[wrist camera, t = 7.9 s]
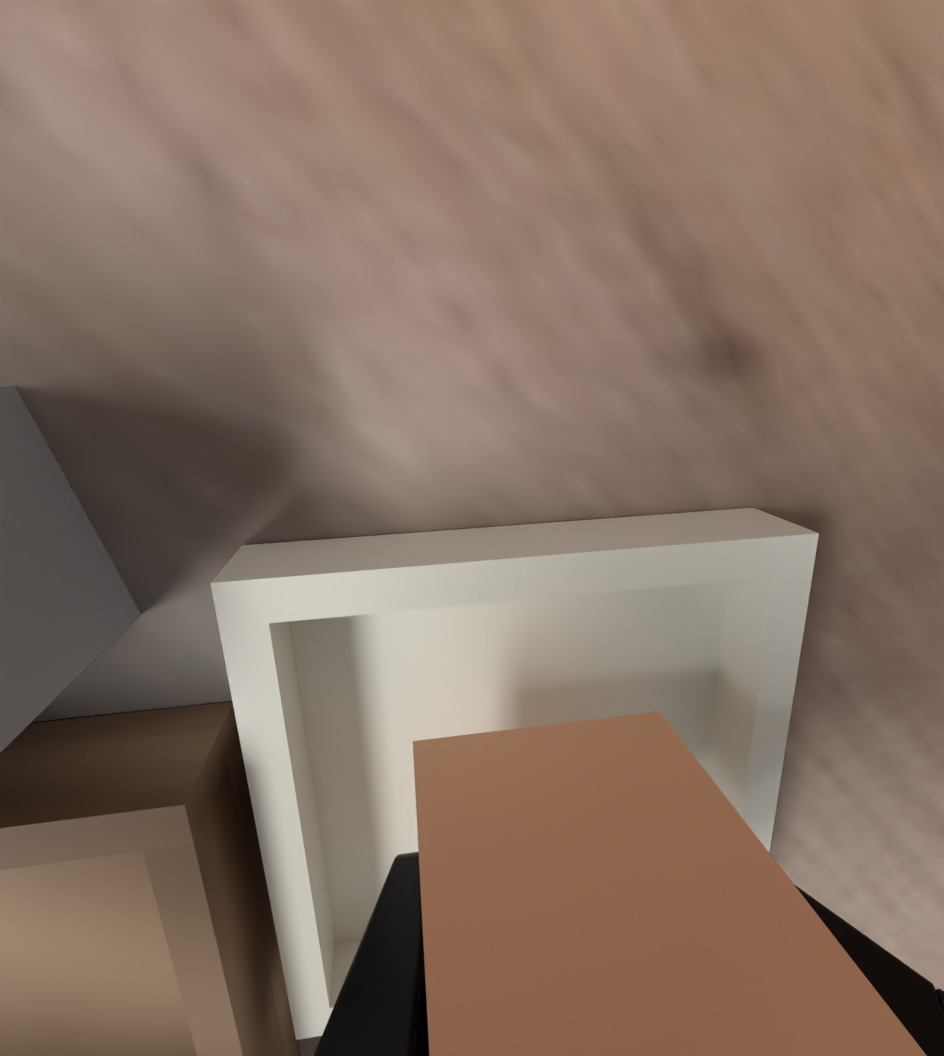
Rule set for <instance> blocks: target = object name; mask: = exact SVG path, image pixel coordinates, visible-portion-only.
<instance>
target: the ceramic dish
mask: <svg viewBox="0 0 944 1056" xmlns="http://www.w3.org/2000/svg"><path fill="white" fill-rule="evenodd" d="M818 537H819V533H817V532H814V531H812V530H809V529H807V528H804V527H802V526H799V525H796V524H794V523H791V522H789V521H786V520H784V519H781V518H779V517H776V516H773V515H771V514H768V513H766V512H763V511H761V510H758V509H756V508H740V509H727V510H713V511H700V512H686V513H673V514H659V515H646V516H632V517H619V518H605V519H592V520H578V521H565V522H551V523H538V524H524V525H511V526H497V527H484V528H470V529H457V530H443V531H430V532H416V533H403V534H390V535H376V536H363V537H349V538H336V539H322V540H309V541H295V542H282V543H268V544H255V545H242V546H241V547H240V548H239V550H238V551H237V552H236V553H235V554H234V556H233V557H232V558H231V559H230V560H229V561H228V563H227V564H226V565H225V566H224V567H223V569H222V570H221V571H220V572H219V573H218V574H217V576H216V577H215V578H214V579H213V580H212V582H211V583H210V585H211V590H212V595H213V601H214V606H215V611H216V617H217V622H218V627H219V633H220V638H221V643H222V648H223V654H224V659H225V664H226V670H227V675H228V680H229V686H230V691H231V696H232V702H233V707H234V712H235V718H236V723H237V728H238V734H239V739H240V744H241V750H242V755H243V760H244V766H245V771H246V776H247V782H248V787H249V792H250V798H251V803H252V808H253V813H254V819H255V824H256V829H257V835H258V840H259V845H260V851H261V856H262V861H263V867H264V872H265V877H266V883H267V888H268V893H269V899H270V904H271V909H272V915H273V920H274V925H275V931H276V936H277V941H278V947H279V952H280V957H281V963H282V968H283V973H284V978H285V984H286V989H287V994H288V1000H289V1005H290V1010H291V1016H292V1021H293V1026H294V1032H295V1037H296V1040H300V1039H306V1038H311V1037H317V1036H322V1034H323V1032H324V1029H325V1027H326V1024H327V1022H328V1020H329V1017H330V1015H331V1012H332V1010H333V1007H334V1005H335V1002H336V1000H337V998H338V995H339V993H340V990H341V988H342V985H343V983H344V980H345V978H346V976H347V973H348V971H349V968H350V966H351V963H352V961H353V959H354V956H355V954H356V951H357V949H358V946H359V944H360V941H361V939H362V937H363V934H364V932H365V929H366V927H367V924H368V922H369V919H370V917H371V915H372V912H373V910H374V907H375V905H376V902H377V900H378V897H379V895H380V893H381V890H382V888H383V885H384V883H385V880H386V878H387V875H388V873H389V871H390V868H391V866H392V863H393V861H394V859H395V857H396V856H397V855H399V854H404V853H411V852H419V851H418V832H417V814H416V795H415V777H414V758H413V741H418V740H426V739H434V738H443V737H451V736H459V735H467V734H476V733H484V732H492V731H500V730H508V729H517V728H525V727H533V726H541V725H550V724H558V723H566V722H574V721H583V720H591V719H599V718H607V717H615V716H624V715H632V714H640V713H648V712H657V711H660V713H661V714H662V715H663V717H664V718H665V719H666V720H667V722H668V723H669V724H670V726H671V727H672V728H673V729H674V731H675V732H676V733H677V735H678V736H679V737H680V738H681V740H682V741H683V742H684V744H685V745H686V746H687V748H688V749H689V750H690V751H691V753H692V754H693V755H694V757H695V758H696V759H697V760H698V762H699V763H700V764H701V766H702V767H703V768H704V769H705V771H706V772H707V773H708V775H709V776H710V777H711V778H712V780H713V781H714V782H715V784H716V785H717V786H718V787H719V789H720V790H721V791H722V793H723V794H724V795H725V796H726V798H727V799H728V800H729V802H730V803H731V804H732V805H733V807H734V808H735V809H736V811H737V812H738V813H739V814H740V816H741V817H742V818H743V820H744V821H745V822H746V823H747V825H748V826H749V827H750V829H751V830H752V831H753V833H754V834H755V835H756V836H757V838H758V839H759V840H760V842H761V843H762V844H763V845H764V847H765V848H766V849H767V851H768V852H770V845H771V839H772V832H773V826H774V820H775V813H776V807H777V800H778V794H779V787H780V781H781V775H782V768H783V762H784V755H785V749H786V742H787V736H788V730H789V723H790V717H791V710H792V704H793V697H794V691H795V685H796V678H797V672H798V665H799V659H800V652H801V646H802V640H803V633H804V627H805V620H806V614H807V607H808V601H809V595H810V588H811V582H812V575H813V569H814V562H815V556H816V550H817V543H818Z"/></svg>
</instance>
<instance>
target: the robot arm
mask: <svg viewBox="0 0 944 1056" xmlns="http://www.w3.org/2000/svg"><path fill="white" fill-rule="evenodd" d="M795 887H796V888H797V889H798V890H799V892H800V893H801V894H802V896H803V897H804V898H805V899H806V901H807V902H808V903H809V905H810V906H811V907H812V908H813V910H814V911H815V912H816V914H817V915H818V916H819V918H820V919H821V920H822V921H823V923H824V924H825V925H826V927H827V928H828V929H829V930H830V932H831V933H832V934H833V936H834V937H835V938H836V939H837V941H838V942H839V943H840V945H841V946H842V947H843V948H844V950H845V951H846V952H847V954H848V955H849V956H850V957H851V959H852V960H853V961H854V963H855V964H856V965H857V966H858V968H859V969H860V970H861V972H862V973H863V974H864V975H865V977H866V978H867V979H868V981H869V982H870V983H871V984H872V986H873V987H874V988H875V990H876V991H877V992H878V993H879V995H880V996H881V997H882V999H883V1000H884V1001H885V1003H886V1004H887V1005H888V1006H889V1008H890V1009H891V1010H892V1012H893V1013H894V1014H895V1015H896V1017H897V1018H898V1019H899V1021H900V1022H901V1023H902V1024H903V1026H904V1027H905V1028H906V1030H907V1031H908V1032H909V1033H910V1035H911V1036H912V1037H913V1039H914V1040H915V1041H916V1042H917V1044H918V1045H919V1046H920V1048H921V1049H922V1050H923V1051H924V1053H925V1054H926V1055H927V1056H944V991H942V990H941V989H936V990H935V987H934V985H933V984H932V983H931V982H930V981H928V980H927V979H925V978H924V977H923V976H921V975H920V974H918V973H917V972H916V971H914V970H913V969H911V968H910V967H909V966H907V965H906V964H904V963H903V962H902V961H900V960H899V959H897V958H896V957H895V956H893V955H892V954H890V953H889V952H888V951H886V950H885V949H883V948H882V947H881V946H879V945H878V944H877V943H875V942H874V941H872V940H871V939H870V938H868V937H867V936H865V935H864V934H863V933H861V932H860V931H858V930H857V929H856V928H854V927H853V926H851V925H850V924H849V923H847V922H846V921H844V920H843V919H842V918H840V917H839V916H837V915H836V914H835V913H833V912H832V911H830V910H829V909H828V908H826V907H825V906H823V905H822V904H821V903H819V902H818V901H816V900H815V899H814V898H812V897H811V896H810V895H808V894H807V893H805V892H804V891H803V890H801V889H800V888H798V887H797V886H796V885H795ZM314 1056H430V1055H429V1036H428V1018H427V999H426V981H425V962H424V943H423V925H422V906H421V888H420V869H419V852H411V853H404V854H399V855H397V856H396V857H395V859H394V861H393V863H392V866H391V868H390V871H389V873H388V875H387V878H386V880H385V883H384V885H383V888H382V890H381V893H380V895H379V897H378V900H377V902H376V905H375V907H374V910H373V912H372V915H371V917H370V919H369V922H368V924H367V927H366V929H365V932H364V934H363V937H362V939H361V941H360V944H359V946H358V949H357V951H356V954H355V956H354V959H353V961H352V963H351V966H350V968H349V971H348V973H347V976H346V978H345V980H344V983H343V985H342V988H341V990H340V993H339V995H338V998H337V1000H336V1002H335V1005H334V1007H333V1010H332V1012H331V1015H330V1017H329V1020H328V1022H327V1024H326V1027H325V1029H324V1032H323V1034H322V1037H321V1039H320V1042H319V1044H318V1046H317V1049H316V1051H315V1054H314Z"/></svg>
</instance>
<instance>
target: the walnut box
mask: <svg viewBox="0 0 944 1056" xmlns="http://www.w3.org/2000/svg"><path fill="white" fill-rule="evenodd" d="M0 1056H300V1053H299V1047H298V1042H297V1040H296V1037H295V1032H294V1026H293V1021H292V1016H291V1010H290V1005H289V1000H288V994H287V989H286V984H285V978H284V973H283V968H282V963H281V957H280V952H279V947H278V941H277V936H276V931H275V925H274V920H273V915H272V909H271V904H270V899H269V893H268V888H267V883H266V877H265V872H264V867H263V861H262V856H261V851H260V845H259V840H258V835H257V829H256V824H255V819H254V813H253V808H252V803H251V798H250V792H249V787H248V782H247V776H246V771H245V766H244V760H243V755H242V750H241V744H240V739H239V734H238V728H237V723H236V718H235V712H234V707H233V702H225V703H215V704H206V705H197V706H187V707H178V708H169V709H159V710H150V711H141V712H131V713H122V714H113V715H103V716H94V717H85V718H76V719H66V720H57V721H48V722H38V723H30V724H29V725H28V726H27V727H26V728H25V729H24V730H23V731H22V732H21V733H20V734H19V735H18V736H17V737H16V738H15V739H14V740H13V741H12V742H11V743H10V744H9V745H8V746H7V747H6V748H5V749H4V750H3V751H2V752H1V753H0Z"/></svg>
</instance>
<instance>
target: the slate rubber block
mask: <svg viewBox="0 0 944 1056" xmlns="http://www.w3.org/2000/svg"><path fill="white" fill-rule="evenodd" d="M140 615H141V613H140V611H139V609H138V607H137V605H136V603H135V602H134V600H133V598H132V596H131V594H130V593H129V591H128V589H127V587H126V585H125V584H124V582H123V580H122V578H121V576H120V575H119V573H118V571H117V569H116V567H115V566H114V564H113V562H112V560H111V558H110V557H109V555H108V553H107V551H106V549H105V548H104V546H103V544H102V542H101V540H100V538H99V537H98V535H97V533H96V531H95V529H94V528H93V526H92V524H91V522H90V520H89V519H88V517H87V515H86V513H85V511H84V510H83V508H82V506H81V504H80V502H79V501H78V499H77V497H76V495H75V493H74V492H73V490H72V488H71V486H70V484H69V482H68V481H67V479H66V477H65V475H64V473H63V472H62V470H61V468H60V466H59V464H58V463H57V461H56V459H55V457H54V455H53V454H52V452H51V450H50V448H49V446H48V445H47V443H46V441H45V439H44V437H43V436H42V434H41V432H40V430H39V428H38V427H37V425H36V423H35V421H34V419H33V417H32V416H31V414H30V412H29V410H28V408H27V407H26V405H25V403H24V401H23V399H22V398H21V396H20V394H19V392H18V390H17V389H16V387H15V386H13V387H0V753H1V752H2V751H3V750H4V749H5V748H6V747H7V746H8V745H9V744H10V743H11V742H12V741H13V740H14V739H15V738H16V737H17V736H18V735H19V734H20V733H21V732H22V731H23V730H24V729H25V728H26V727H27V726H28V725H29V724H30V723H31V722H32V721H33V720H34V719H35V718H36V717H37V716H38V715H39V714H40V713H41V712H42V711H43V710H44V709H45V708H46V707H47V706H48V705H49V704H51V703H52V702H53V701H54V700H55V699H56V698H57V697H58V696H59V695H60V694H61V693H62V692H63V691H64V690H65V689H66V688H67V687H68V686H69V685H70V684H71V683H72V682H73V681H74V680H75V679H76V678H77V677H78V676H79V675H80V674H81V673H82V672H83V671H84V670H85V669H86V668H87V667H88V666H89V665H90V664H91V663H92V662H93V661H94V660H95V659H96V658H97V657H98V656H99V655H100V654H102V653H103V652H104V651H105V650H106V649H107V648H108V647H109V646H110V645H111V644H112V643H113V642H114V641H115V640H116V639H117V638H118V637H119V636H120V635H121V634H122V633H123V632H124V631H125V630H126V629H127V628H128V627H129V626H130V625H131V624H132V623H133V622H134V621H135V620H136V619H137V618H138V617H139V616H140Z"/></svg>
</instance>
